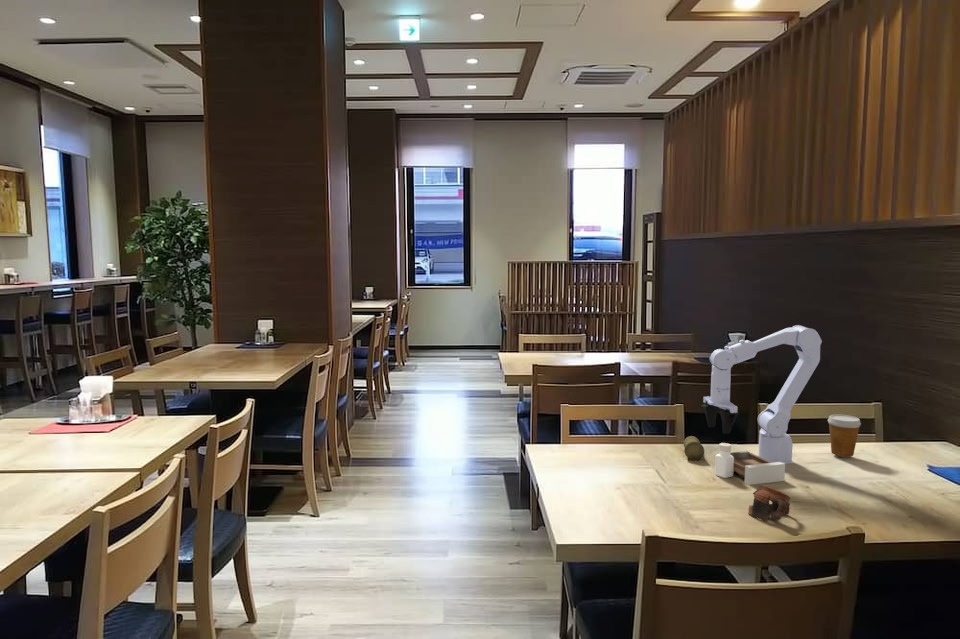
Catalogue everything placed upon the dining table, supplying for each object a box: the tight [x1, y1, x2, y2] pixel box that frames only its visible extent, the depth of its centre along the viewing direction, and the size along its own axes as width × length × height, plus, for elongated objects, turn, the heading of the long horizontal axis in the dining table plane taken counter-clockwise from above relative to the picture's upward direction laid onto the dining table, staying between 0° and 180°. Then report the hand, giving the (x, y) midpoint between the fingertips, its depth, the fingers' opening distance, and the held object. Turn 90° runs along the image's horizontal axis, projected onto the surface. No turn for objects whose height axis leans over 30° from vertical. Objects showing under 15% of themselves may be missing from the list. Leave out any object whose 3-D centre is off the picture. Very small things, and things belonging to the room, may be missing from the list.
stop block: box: [744, 462, 786, 486], centre depth 188 cm, size 12×2×5 cm, turn 106°
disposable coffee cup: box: [827, 414, 862, 458], centre depth 213 cm, size 10×10×12 cm
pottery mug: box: [748, 484, 791, 522], centre depth 163 cm, size 12×9×8 cm
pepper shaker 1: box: [683, 435, 705, 461], centre depth 213 cm, size 6×6×11 cm
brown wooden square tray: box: [730, 450, 772, 479], centre depth 196 cm, size 11×11×4 cm
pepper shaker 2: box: [714, 442, 734, 479], centre depth 193 cm, size 4×4×10 cm
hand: (718, 429), depth 208 cm, fingers open, 7 cm apart
